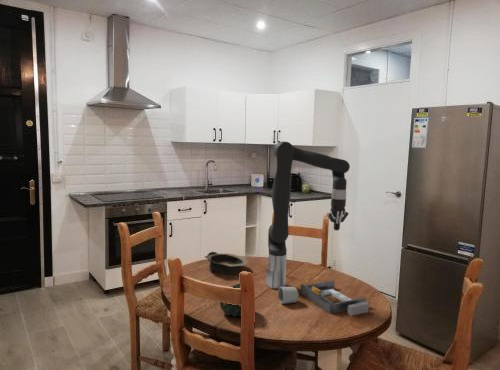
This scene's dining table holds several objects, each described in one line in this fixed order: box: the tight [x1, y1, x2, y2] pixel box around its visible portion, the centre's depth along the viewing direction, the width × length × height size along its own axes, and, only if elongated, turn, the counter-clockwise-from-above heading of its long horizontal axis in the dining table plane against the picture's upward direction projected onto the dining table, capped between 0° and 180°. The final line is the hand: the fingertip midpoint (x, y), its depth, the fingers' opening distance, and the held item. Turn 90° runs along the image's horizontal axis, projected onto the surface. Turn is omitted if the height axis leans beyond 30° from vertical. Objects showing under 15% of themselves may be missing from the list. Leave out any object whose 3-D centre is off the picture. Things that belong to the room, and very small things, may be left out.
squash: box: [219, 283, 241, 317], centre depth 167 cm, size 14×15×15 cm
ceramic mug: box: [277, 286, 300, 305], centre depth 182 cm, size 11×8×8 cm
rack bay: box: [300, 279, 367, 314], centre depth 185 cm, size 20×24×7 cm
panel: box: [346, 301, 370, 317], centre depth 172 cm, size 10×2×4 cm, turn 116°
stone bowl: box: [204, 251, 248, 276], centre depth 223 cm, size 25×25×9 cm
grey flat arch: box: [321, 288, 352, 302], centre depth 185 cm, size 18×2×15 cm
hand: (336, 230), depth 202 cm, fingers closed
